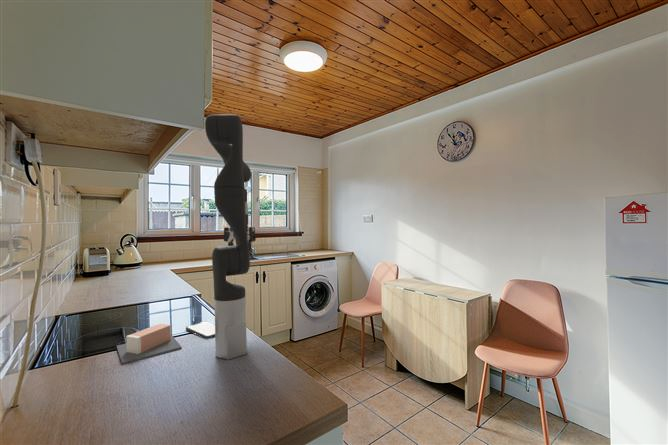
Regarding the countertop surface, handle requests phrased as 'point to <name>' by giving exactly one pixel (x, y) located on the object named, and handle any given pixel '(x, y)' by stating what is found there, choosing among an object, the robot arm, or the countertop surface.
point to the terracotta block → (148, 338)
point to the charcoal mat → (147, 351)
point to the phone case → (203, 329)
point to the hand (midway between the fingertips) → (239, 251)
